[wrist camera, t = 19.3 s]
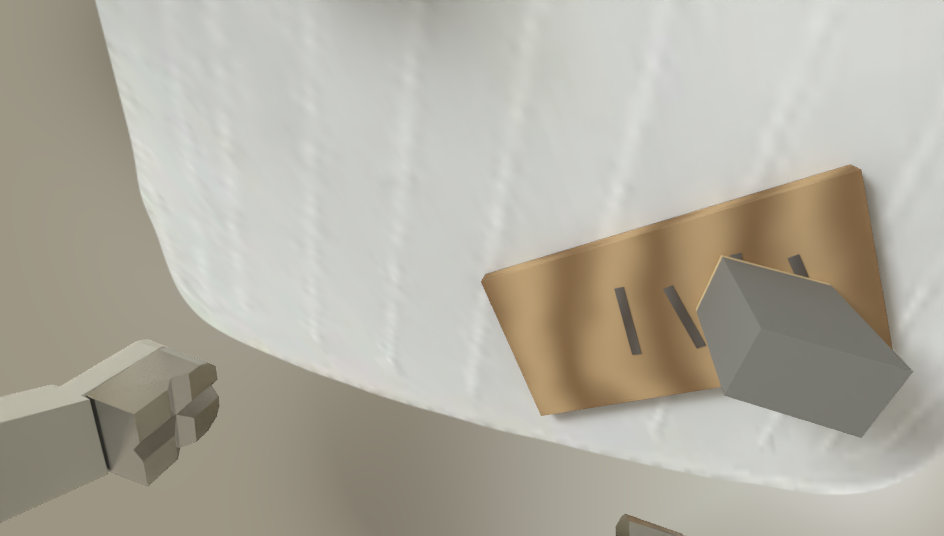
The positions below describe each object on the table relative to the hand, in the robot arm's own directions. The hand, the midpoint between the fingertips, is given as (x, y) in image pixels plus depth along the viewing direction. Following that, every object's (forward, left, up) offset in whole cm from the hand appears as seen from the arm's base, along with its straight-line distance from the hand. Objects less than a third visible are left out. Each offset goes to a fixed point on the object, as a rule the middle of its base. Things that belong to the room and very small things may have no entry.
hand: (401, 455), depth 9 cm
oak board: (-4, +14, -29) cm, 33 cm away
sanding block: (-10, +14, -28) cm, 32 cm away
